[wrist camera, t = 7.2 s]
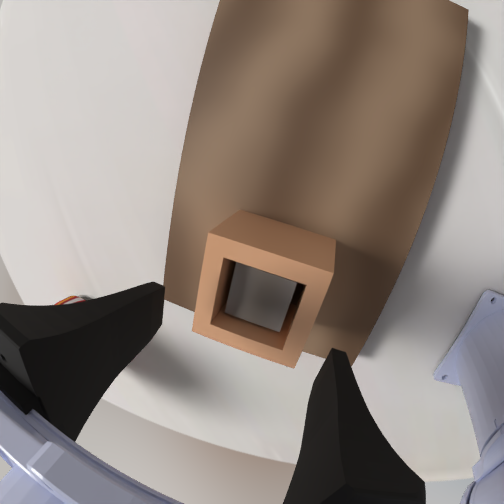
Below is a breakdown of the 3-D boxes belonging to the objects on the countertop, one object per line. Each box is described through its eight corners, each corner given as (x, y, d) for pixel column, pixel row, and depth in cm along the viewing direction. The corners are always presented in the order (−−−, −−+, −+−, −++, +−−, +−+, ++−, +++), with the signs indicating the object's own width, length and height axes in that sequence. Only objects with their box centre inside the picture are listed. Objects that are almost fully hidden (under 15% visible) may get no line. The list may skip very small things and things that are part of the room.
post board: (460, 17, 11) (490, -12, 6) (351, 352, 20) (350, 403, 16) (243, -36, 13) (214, -74, 8) (172, 289, 23) (135, 323, 18)
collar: (335, 239, 16) (333, 273, 12) (305, 321, 19) (294, 368, 15) (239, 209, 17) (208, 232, 13) (221, 292, 20) (191, 331, 16)
